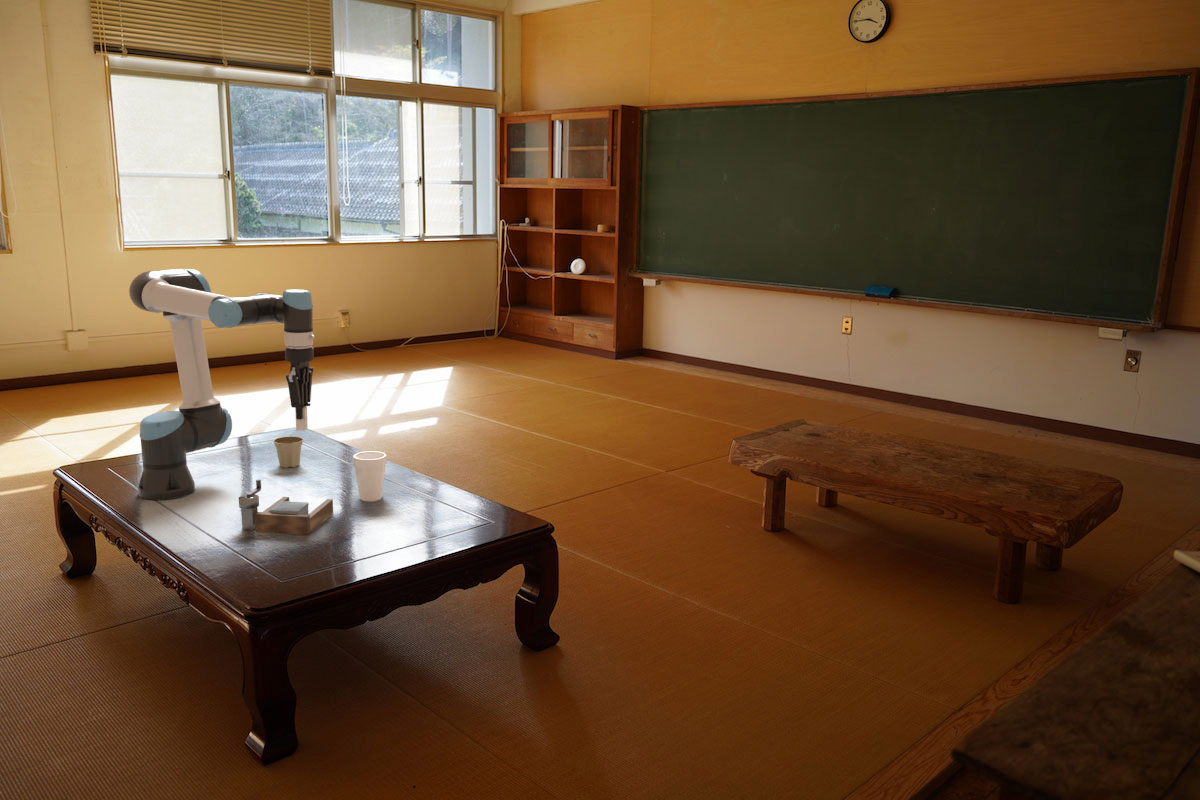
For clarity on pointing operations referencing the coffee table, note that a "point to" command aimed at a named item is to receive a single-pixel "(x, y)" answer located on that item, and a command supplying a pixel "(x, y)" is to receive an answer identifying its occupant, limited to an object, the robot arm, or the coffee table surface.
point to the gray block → (291, 508)
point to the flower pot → (288, 450)
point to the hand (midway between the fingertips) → (301, 429)
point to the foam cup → (370, 474)
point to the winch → (249, 507)
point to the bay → (292, 519)
